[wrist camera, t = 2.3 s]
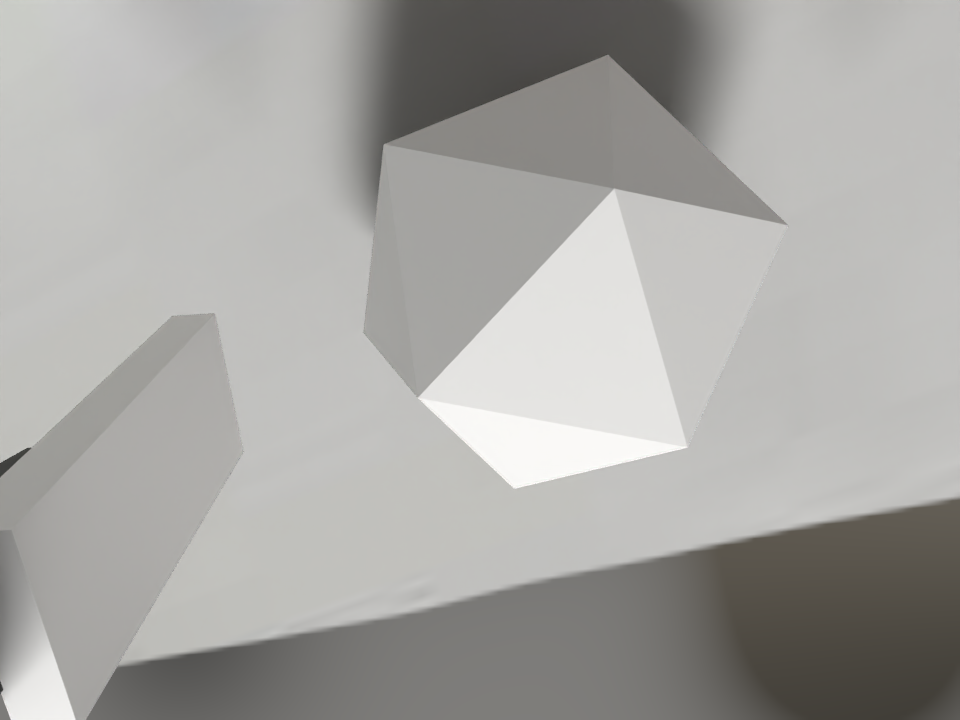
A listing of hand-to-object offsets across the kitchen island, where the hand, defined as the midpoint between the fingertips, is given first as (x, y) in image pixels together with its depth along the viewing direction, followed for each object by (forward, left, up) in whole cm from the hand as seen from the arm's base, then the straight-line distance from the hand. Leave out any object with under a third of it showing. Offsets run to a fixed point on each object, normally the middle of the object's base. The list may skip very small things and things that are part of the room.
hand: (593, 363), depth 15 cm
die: (0, 0, -8) cm, 8 cm away
